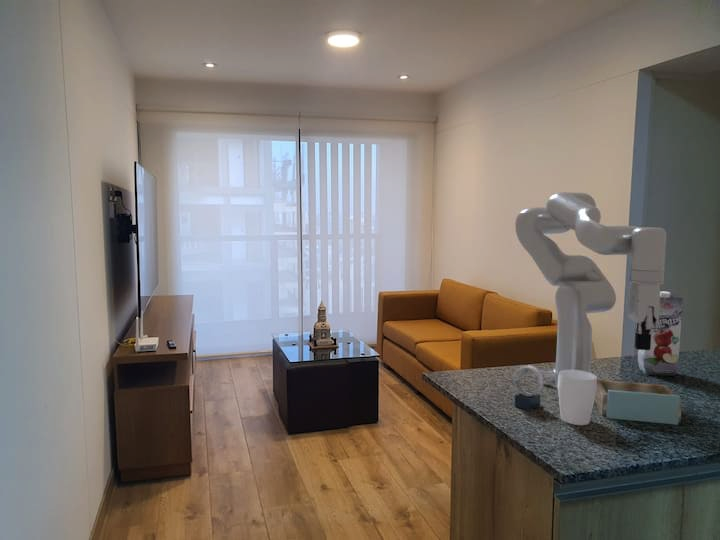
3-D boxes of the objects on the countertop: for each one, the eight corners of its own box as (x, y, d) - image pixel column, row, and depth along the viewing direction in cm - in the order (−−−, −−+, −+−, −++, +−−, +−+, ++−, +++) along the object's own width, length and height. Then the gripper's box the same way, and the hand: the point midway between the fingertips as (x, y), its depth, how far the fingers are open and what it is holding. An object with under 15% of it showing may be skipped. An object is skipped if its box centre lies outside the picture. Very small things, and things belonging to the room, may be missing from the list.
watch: (519, 399, 148) (521, 361, 147) (546, 407, 142) (548, 367, 141) (508, 404, 144) (509, 364, 143) (534, 412, 138) (536, 371, 137)
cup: (591, 431, 126) (594, 383, 125) (552, 423, 131) (554, 376, 130) (597, 419, 134) (600, 373, 133) (559, 412, 139) (562, 367, 137)
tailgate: (607, 418, 134) (608, 391, 133) (606, 416, 135) (607, 389, 134) (678, 424, 130) (680, 396, 129) (676, 422, 131) (678, 395, 130)
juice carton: (634, 367, 178) (639, 288, 175) (667, 369, 177) (673, 289, 174) (644, 376, 170) (650, 292, 167) (680, 377, 168) (686, 293, 165)
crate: (601, 417, 135) (602, 394, 135) (592, 400, 147) (593, 379, 147) (680, 424, 131) (682, 401, 130) (664, 406, 143) (666, 385, 142)
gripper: (622, 273, 141) (619, 341, 142) (637, 280, 126) (633, 355, 128) (654, 274, 139) (650, 343, 141) (673, 281, 124) (668, 357, 126)
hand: (642, 348), depth 134 cm, fingers closed
